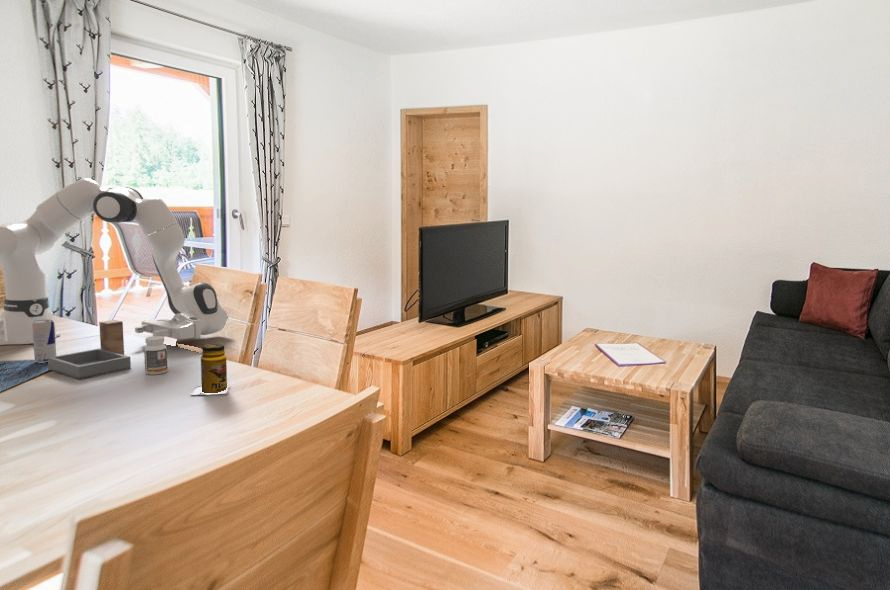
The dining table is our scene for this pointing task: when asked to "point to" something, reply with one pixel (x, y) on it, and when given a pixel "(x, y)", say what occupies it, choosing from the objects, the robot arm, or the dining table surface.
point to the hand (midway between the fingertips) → (145, 332)
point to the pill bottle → (155, 355)
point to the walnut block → (112, 336)
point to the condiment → (213, 368)
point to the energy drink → (44, 340)
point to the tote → (89, 363)
